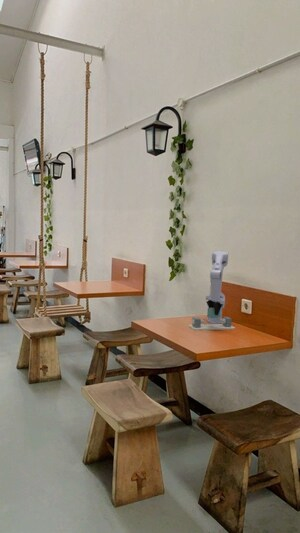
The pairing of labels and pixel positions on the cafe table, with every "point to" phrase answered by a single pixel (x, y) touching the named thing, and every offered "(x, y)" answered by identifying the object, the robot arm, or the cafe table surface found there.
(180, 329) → the cafe table surface
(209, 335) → the cafe table surface
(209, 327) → the shaft stand
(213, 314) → the teal block
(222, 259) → the robot arm
